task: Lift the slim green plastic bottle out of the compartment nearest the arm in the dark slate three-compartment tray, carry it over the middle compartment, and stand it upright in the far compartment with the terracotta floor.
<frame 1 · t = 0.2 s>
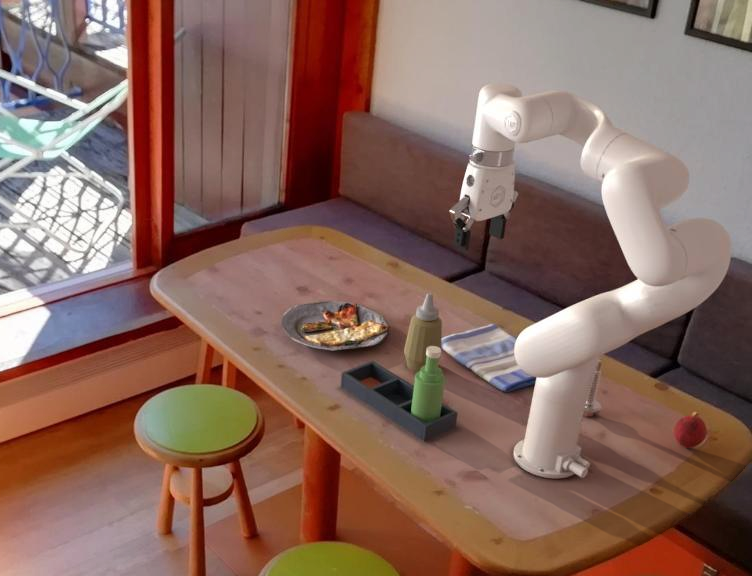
hand: (478, 242, 200), 37 cm above the table, tool pointing down, fingers open, 9 cm apart
bottle: (424, 424, 211), resting on tray
squeeze bottle: (420, 368, 232), on the table
dish towel: (497, 362, 234), on the table
food plate: (334, 333, 245), on the table
screw: (586, 414, 217), on the table
tray: (396, 408, 217), on the table
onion: (685, 448, 207), on the table
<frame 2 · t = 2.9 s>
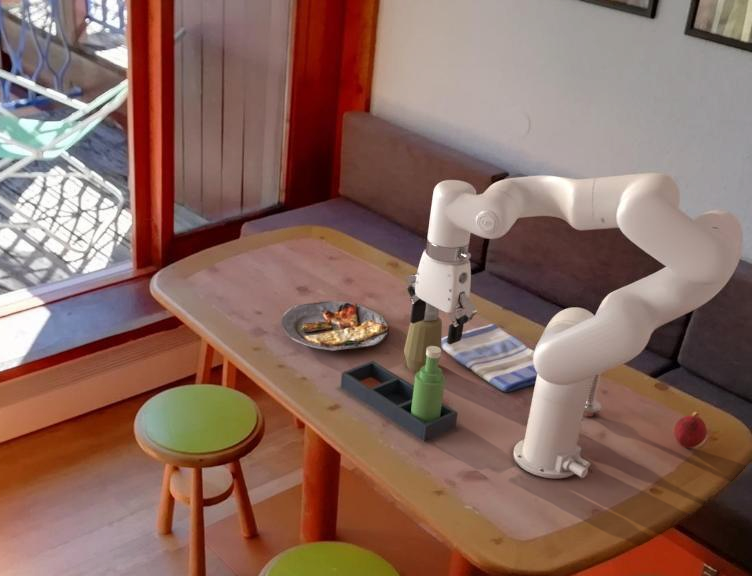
hand: (435, 331, 201), 22 cm above the table, tool pointing down, fingers open, 9 cm apart
nothing on the table moved.
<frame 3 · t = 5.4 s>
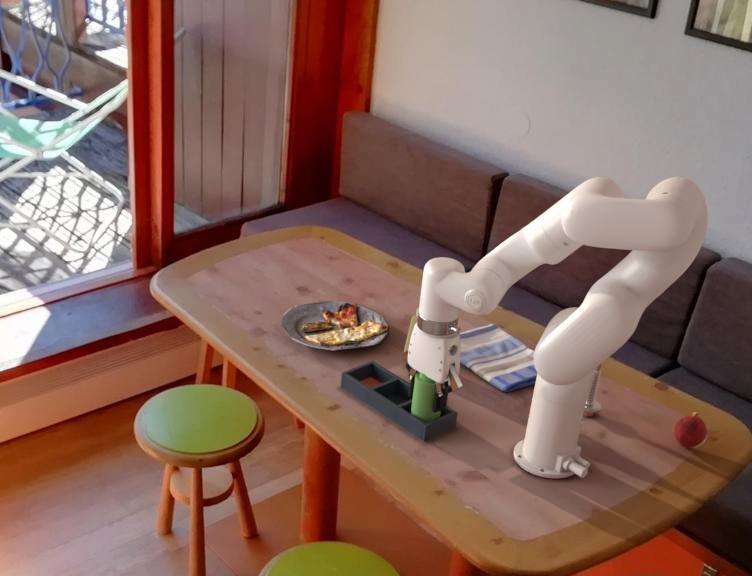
hand: (427, 401, 209), 6 cm above the table, tool pointing down, fingers closed on bottle, 5 cm apart
bottle: (424, 424, 211), point 1 cm above the table, touching gripper, tray
everything else where it was.
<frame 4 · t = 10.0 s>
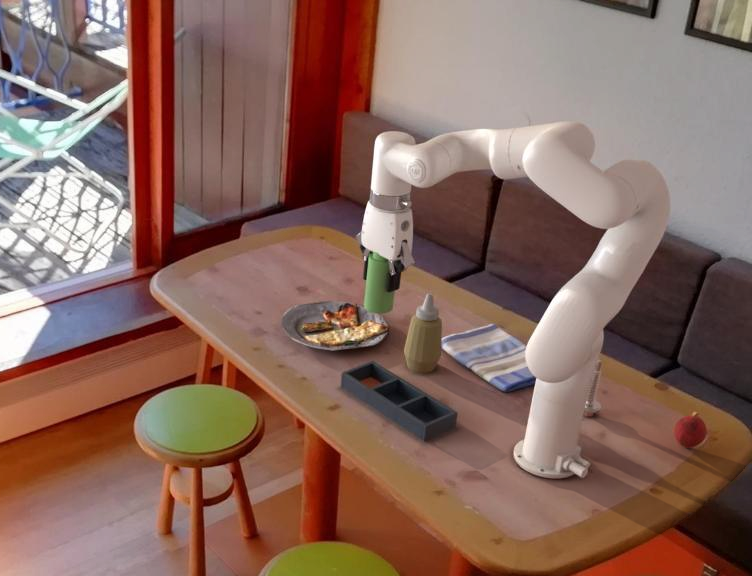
hand: (381, 283, 209), 25 cm above the table, tool pointing down, fingers closed on bottle, 5 cm apart
bottle: (378, 306, 212), point 20 cm above the table, touching gripper
everything else where it was.
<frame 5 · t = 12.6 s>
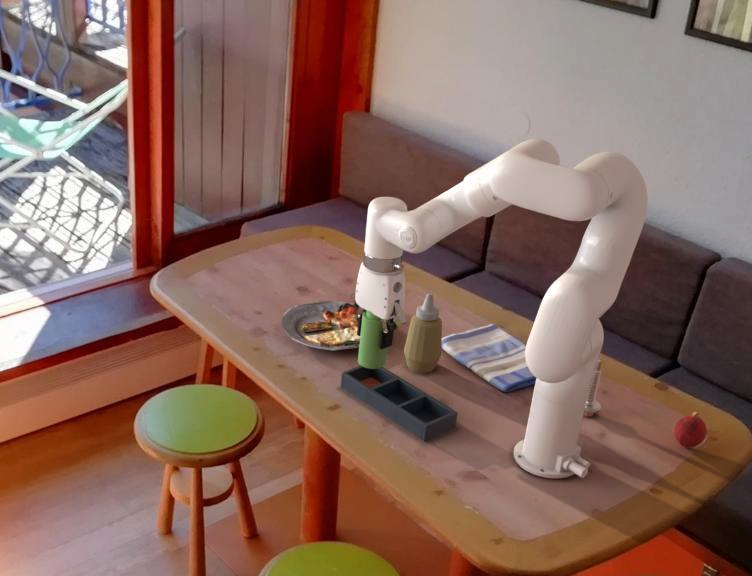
hand: (374, 339, 216), 12 cm above the table, tool pointing down, fingers closed on bottle, 5 cm apart
bottle: (371, 361, 219), point 7 cm above the table, touching gripper
everything else where it was.
when the fingers open (6 cm above the table, at t = 14.6 s): bottle stays where it is, resting on tray.
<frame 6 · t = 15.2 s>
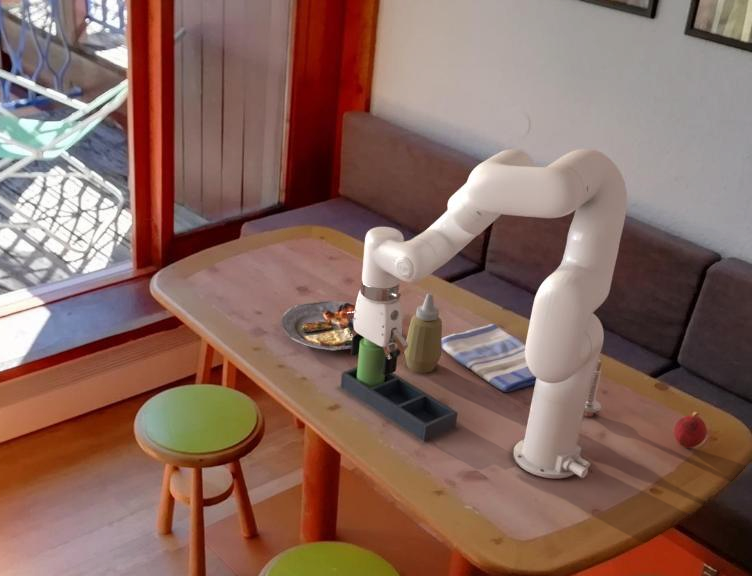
hand: (372, 363, 219), 7 cm above the table, tool pointing down, fingers open, 9 cm apart
bottle: (369, 388, 222), point 1 cm above the table, touching tray
everything else where it was.
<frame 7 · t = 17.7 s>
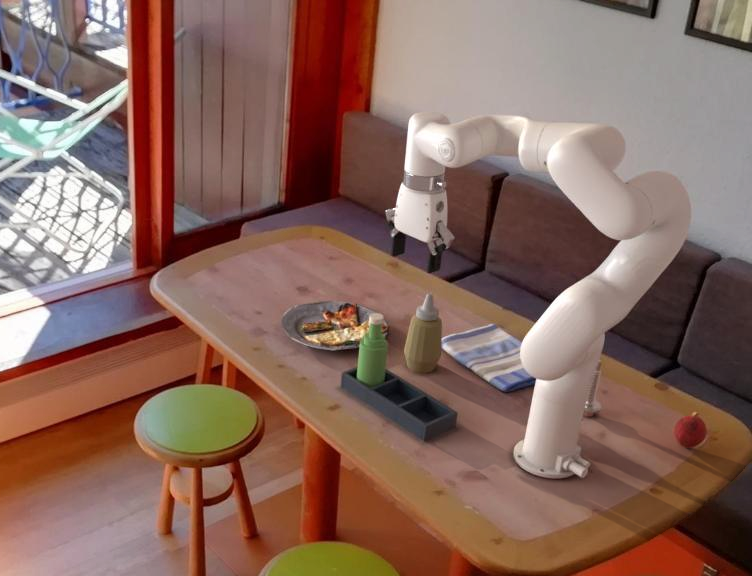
hand: (415, 263, 208), 30 cm above the table, tool pointing down, fingers open, 9 cm apart
nothing on the table moved.
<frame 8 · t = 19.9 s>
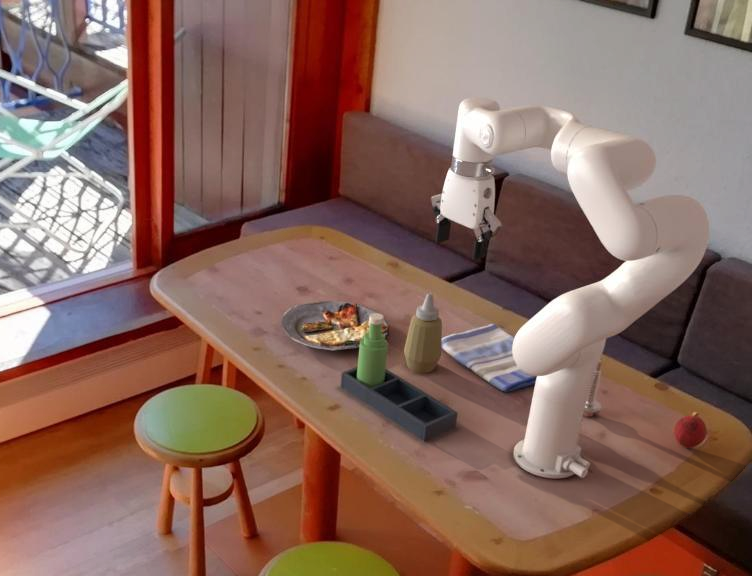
hand: (460, 249, 207), 32 cm above the table, tool pointing down, fingers open, 9 cm apart
nothing on the table moved.
at the end: bottle 0.1 cm from the target spot in the tray, point 0.7 cm above the tray's base; bottle tilted 0°; the gripper is holding nothing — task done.
